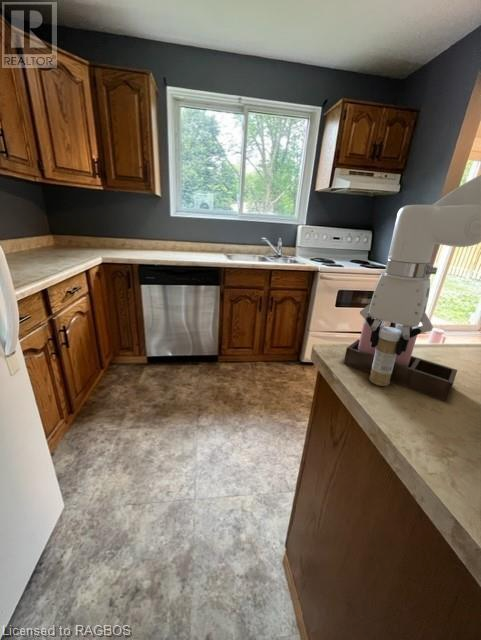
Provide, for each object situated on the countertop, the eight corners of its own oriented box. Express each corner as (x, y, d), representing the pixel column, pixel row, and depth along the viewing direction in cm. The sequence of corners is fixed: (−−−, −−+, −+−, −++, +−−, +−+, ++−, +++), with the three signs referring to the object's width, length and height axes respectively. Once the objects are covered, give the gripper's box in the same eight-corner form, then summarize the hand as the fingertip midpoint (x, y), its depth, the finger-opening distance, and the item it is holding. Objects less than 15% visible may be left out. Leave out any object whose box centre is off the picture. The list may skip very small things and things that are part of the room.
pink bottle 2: (407, 372, 69) (421, 324, 65) (402, 379, 66) (417, 330, 61) (387, 365, 72) (399, 319, 68) (381, 371, 69) (394, 324, 64)
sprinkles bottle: (388, 379, 66) (401, 328, 62) (390, 389, 62) (404, 335, 58) (368, 374, 68) (379, 324, 63) (368, 384, 64) (380, 331, 59)
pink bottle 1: (377, 361, 74) (388, 316, 69) (371, 368, 70) (382, 321, 66) (359, 355, 77) (368, 312, 72) (352, 361, 73) (362, 316, 69)
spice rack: (451, 386, 65) (457, 369, 63) (446, 401, 59) (453, 383, 57) (355, 353, 79) (358, 339, 78) (343, 363, 73) (346, 347, 72)
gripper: (458, 273, 53) (433, 356, 59) (369, 263, 64) (355, 334, 70) (454, 278, 48) (426, 368, 54) (357, 266, 58) (343, 342, 65)
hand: (386, 348), depth 62 cm, fingers closed on sprinkles bottle, 4 cm apart
